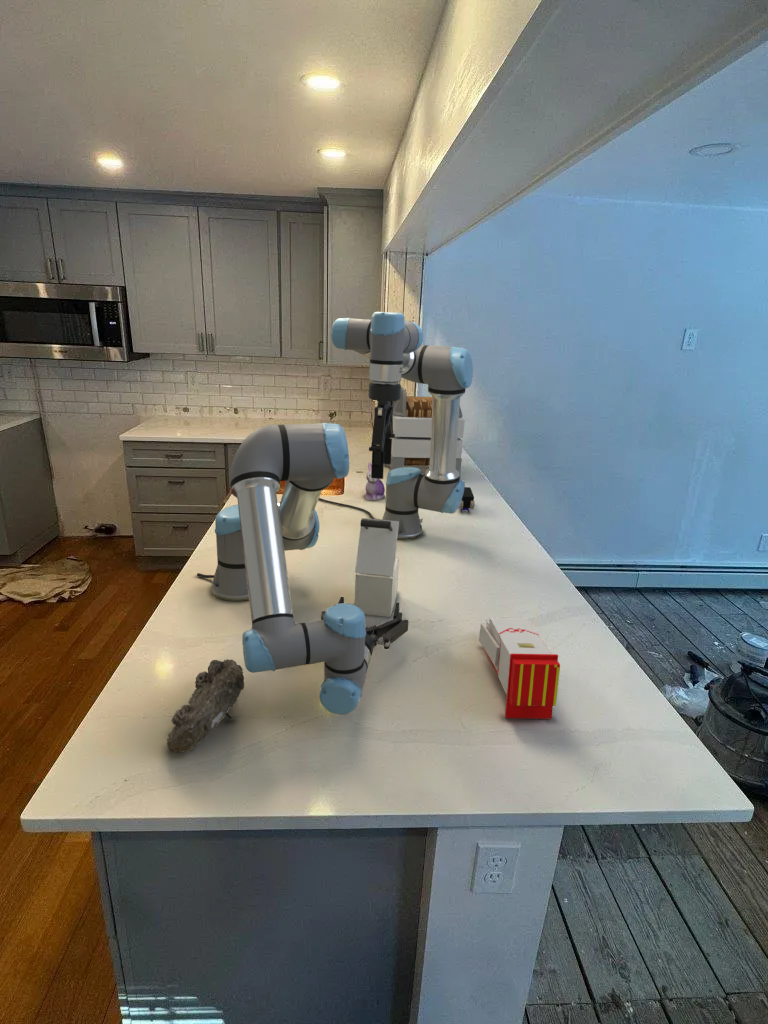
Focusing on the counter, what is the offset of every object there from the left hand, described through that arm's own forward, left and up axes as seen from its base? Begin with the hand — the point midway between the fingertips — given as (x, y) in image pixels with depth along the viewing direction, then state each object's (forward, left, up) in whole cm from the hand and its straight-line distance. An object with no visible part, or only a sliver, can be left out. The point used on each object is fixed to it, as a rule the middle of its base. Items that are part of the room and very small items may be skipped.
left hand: (369, 604), depth 137 cm
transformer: (0, +145, -7) cm, 145 cm away
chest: (0, +14, -7) cm, 15 cm away
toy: (+34, -12, -7) cm, 37 cm away
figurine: (-15, +102, -7) cm, 103 cm away
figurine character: (+22, +97, -7) cm, 100 cm away
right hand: (0, +13, +30) cm, 33 cm away
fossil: (-24, -37, -7) cm, 45 cm away
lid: (0, +11, +10) cm, 15 cm away
